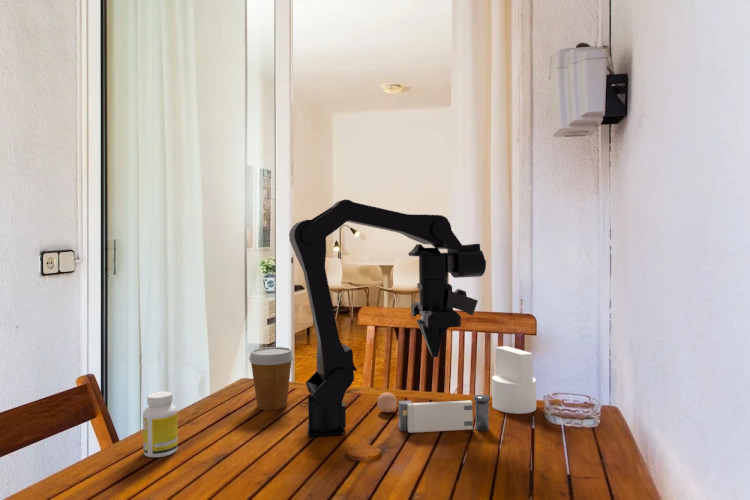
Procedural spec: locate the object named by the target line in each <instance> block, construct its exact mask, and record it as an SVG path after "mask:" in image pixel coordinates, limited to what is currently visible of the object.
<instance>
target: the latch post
mask: <svg viewBox="0 0 750 500" xmlns="http://www.w3.org/2000/svg"><path fill="white" fill-rule="evenodd" d="M407 403H413V401H412V400H398V408H397V409H398V429H399V431H400V432H405V431H407V432H408V429H407Z"/></svg>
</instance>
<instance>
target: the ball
mask: <svg viewBox="0 0 750 500" xmlns="http://www.w3.org/2000/svg"><path fill="white" fill-rule="evenodd" d="M376 403H377V408H378V409H379V410H380V411H381V412H383V413H385V414H386V413H392V412H393V411H394V410H395V409H396V407H397V398H396V396H395V395H394V394H393V393H391V392H386V391H385V392H383V393H381V394H380V395H379V396H378V397H377V401H376Z"/></svg>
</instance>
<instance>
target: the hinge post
mask: <svg viewBox="0 0 750 500" xmlns="http://www.w3.org/2000/svg"><path fill="white" fill-rule="evenodd" d="M473 401H475V411H474V412H475V430H476V431H477V432H478V431H479V432H489V429H490V426H489V424H490V423H489V422H490V417H489V415H490V413H489V411H490V410H489V402H491V397H490V396H489V395H487V394H476V395H473Z"/></svg>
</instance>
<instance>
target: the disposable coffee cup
mask: <svg viewBox="0 0 750 500" xmlns="http://www.w3.org/2000/svg"><path fill="white" fill-rule="evenodd" d="M294 355H295V354H293V351H292V348H289V347H284V346H269V347H261V348H256V349H253V350H251V352H250V355H249V356H248V360H249V362H250V365H251V372H252V378H253V386H254V391H255V393H254V394H255V398H256V407H257V409H259V410H263V411H276V410H281V409H284V408H286V407H287V406H288V397H289V396H288V395H289V388H290V379H291V378H290V377H291V371H292V370H291V369H292V361H293V358H294Z"/></svg>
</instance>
